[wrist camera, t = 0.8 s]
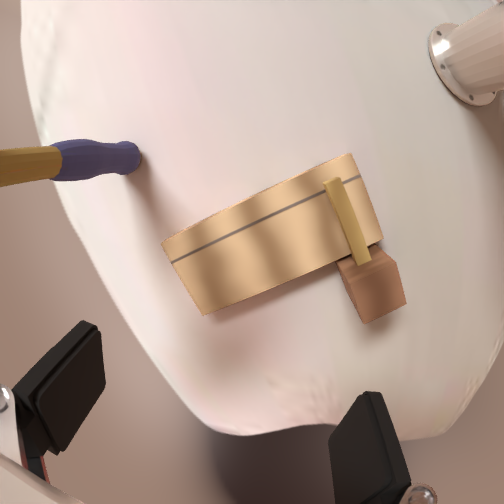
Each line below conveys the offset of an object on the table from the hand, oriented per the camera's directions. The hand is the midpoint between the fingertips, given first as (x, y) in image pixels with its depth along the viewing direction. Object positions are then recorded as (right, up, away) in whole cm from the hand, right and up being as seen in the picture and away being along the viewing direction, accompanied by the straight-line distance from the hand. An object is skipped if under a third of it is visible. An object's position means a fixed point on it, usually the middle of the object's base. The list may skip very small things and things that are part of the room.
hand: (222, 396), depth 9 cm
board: (+3, +7, +24) cm, 25 cm away
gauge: (+12, +7, +23) cm, 27 cm away
